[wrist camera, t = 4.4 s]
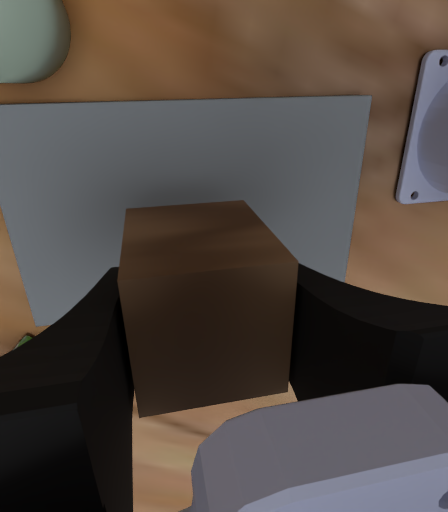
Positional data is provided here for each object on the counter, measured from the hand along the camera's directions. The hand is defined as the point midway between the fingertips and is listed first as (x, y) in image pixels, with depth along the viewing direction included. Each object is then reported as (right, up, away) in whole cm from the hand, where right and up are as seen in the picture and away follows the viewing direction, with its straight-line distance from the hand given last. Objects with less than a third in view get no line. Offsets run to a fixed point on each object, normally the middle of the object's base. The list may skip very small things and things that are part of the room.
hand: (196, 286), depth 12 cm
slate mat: (-1, +4, +8) cm, 8 cm away
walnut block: (0, +1, +1) cm, 2 cm away
